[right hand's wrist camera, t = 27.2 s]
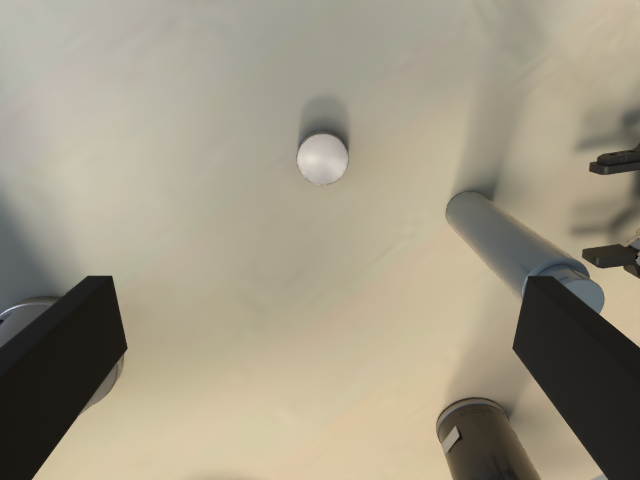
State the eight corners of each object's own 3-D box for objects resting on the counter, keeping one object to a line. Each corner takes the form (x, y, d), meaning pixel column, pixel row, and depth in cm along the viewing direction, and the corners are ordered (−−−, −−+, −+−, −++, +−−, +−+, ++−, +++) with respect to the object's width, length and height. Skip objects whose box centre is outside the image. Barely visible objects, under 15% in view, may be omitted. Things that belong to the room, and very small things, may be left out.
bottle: (443, 195, 42) (538, 279, 24) (487, 187, 42) (615, 266, 24) (447, 234, 44) (537, 341, 25) (488, 227, 43) (610, 329, 25)
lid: (337, 186, 42) (338, 192, 39) (291, 171, 41) (290, 176, 39) (354, 139, 40) (356, 142, 38) (306, 123, 39) (305, 125, 37)
